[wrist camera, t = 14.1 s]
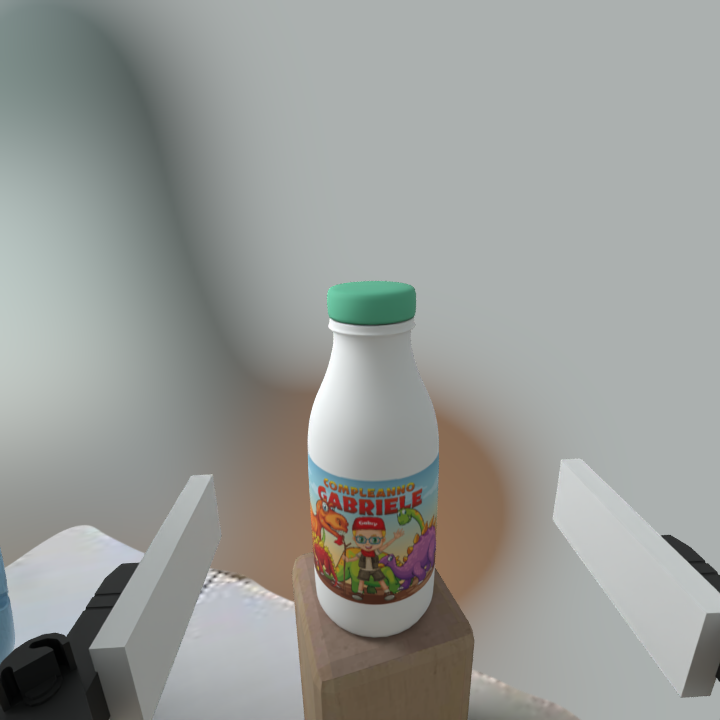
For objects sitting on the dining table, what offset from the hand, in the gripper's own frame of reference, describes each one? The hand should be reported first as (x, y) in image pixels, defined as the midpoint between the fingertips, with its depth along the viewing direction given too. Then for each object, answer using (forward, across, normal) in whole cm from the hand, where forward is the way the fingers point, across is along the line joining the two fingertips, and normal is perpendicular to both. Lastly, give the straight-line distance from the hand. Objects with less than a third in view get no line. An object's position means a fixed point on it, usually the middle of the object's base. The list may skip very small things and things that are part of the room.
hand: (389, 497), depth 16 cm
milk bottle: (+8, 0, -13) cm, 16 cm away
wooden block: (+8, 0, -33) cm, 34 cm away
